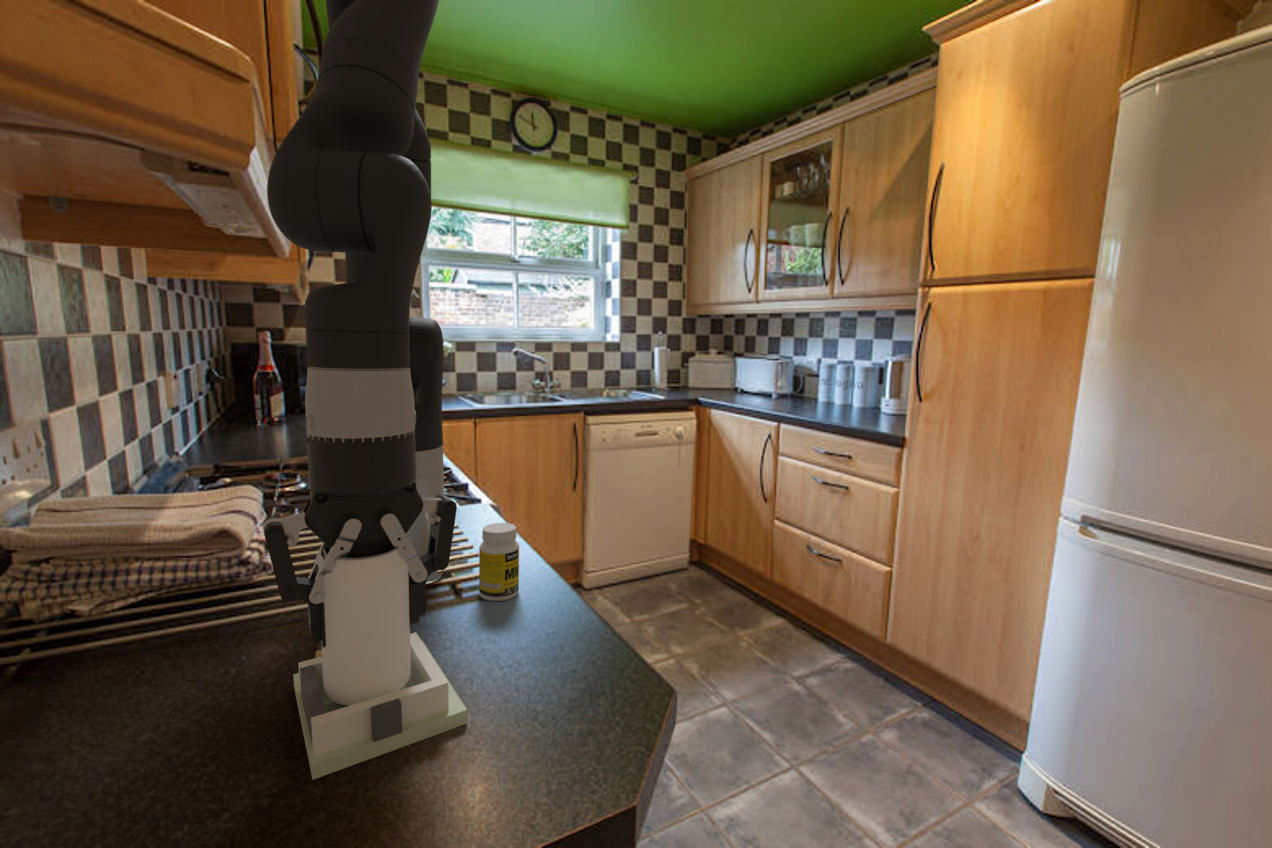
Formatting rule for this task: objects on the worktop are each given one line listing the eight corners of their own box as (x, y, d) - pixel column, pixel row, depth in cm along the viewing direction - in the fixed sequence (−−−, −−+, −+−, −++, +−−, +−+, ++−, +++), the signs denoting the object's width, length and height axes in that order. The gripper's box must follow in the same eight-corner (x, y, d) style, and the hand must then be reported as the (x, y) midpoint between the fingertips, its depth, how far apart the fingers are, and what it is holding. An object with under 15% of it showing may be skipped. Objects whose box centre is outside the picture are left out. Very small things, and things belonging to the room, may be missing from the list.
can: (333, 721, 42) (326, 567, 41) (316, 680, 47) (309, 540, 46) (421, 690, 46) (419, 549, 45) (397, 655, 51) (394, 526, 50)
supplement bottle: (509, 604, 68) (509, 535, 66) (472, 599, 68) (471, 531, 67) (524, 587, 72) (525, 523, 71) (490, 583, 73) (489, 519, 72)
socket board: (293, 687, 50) (291, 648, 50) (422, 651, 57) (421, 617, 56) (312, 779, 40) (310, 732, 40) (467, 723, 46) (466, 682, 46)
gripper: (442, 415, 51) (445, 594, 54) (248, 425, 43) (262, 635, 45) (471, 427, 45) (473, 627, 48) (252, 440, 37) (268, 682, 39)
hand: (370, 630), depth 46 cm, fingers closed on can, 6 cm apart
